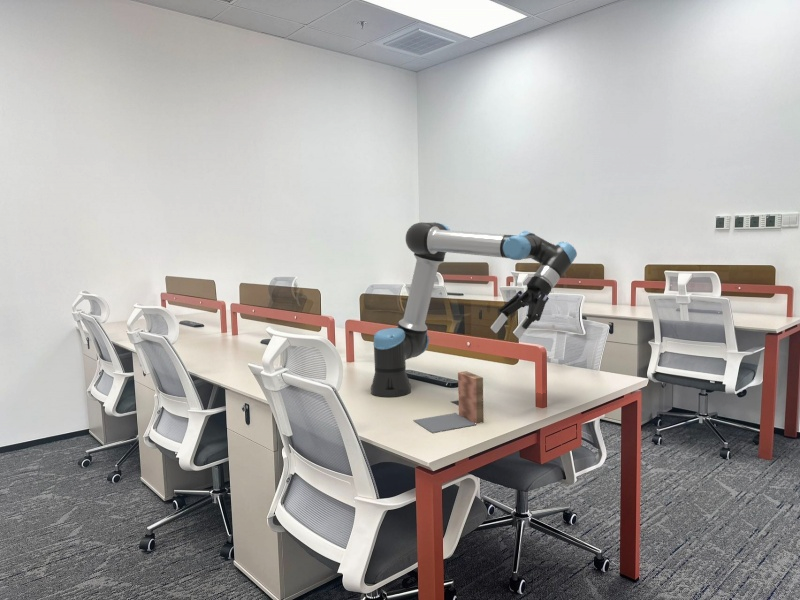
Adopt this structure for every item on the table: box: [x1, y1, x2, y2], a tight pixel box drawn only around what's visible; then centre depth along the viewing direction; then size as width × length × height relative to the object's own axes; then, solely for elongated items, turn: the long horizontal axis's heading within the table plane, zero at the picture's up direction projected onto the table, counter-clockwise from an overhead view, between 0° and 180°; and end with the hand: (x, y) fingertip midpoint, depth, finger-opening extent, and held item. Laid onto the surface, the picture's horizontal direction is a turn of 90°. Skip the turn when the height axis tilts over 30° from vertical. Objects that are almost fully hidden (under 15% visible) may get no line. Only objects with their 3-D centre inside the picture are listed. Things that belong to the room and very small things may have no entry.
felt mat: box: [412, 412, 477, 434], centre depth 171 cm, size 13×15×1 cm
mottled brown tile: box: [457, 370, 485, 424], centre depth 174 cm, size 10×3×14 cm, turn 24°
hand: (504, 333), depth 177 cm, fingers open, 12 cm apart
